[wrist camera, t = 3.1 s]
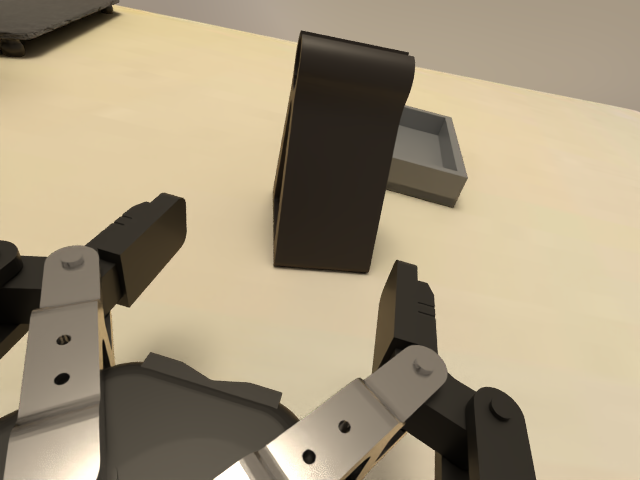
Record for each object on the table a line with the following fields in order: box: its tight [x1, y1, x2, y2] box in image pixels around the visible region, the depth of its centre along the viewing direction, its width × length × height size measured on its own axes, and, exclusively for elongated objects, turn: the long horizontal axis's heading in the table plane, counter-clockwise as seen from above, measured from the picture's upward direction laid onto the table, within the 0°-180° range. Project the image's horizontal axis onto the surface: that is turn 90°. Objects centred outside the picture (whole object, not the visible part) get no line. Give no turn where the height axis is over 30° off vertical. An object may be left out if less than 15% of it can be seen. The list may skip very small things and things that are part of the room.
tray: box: [386, 105, 468, 208], centre depth 39 cm, size 14×17×3 cm
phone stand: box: [273, 31, 415, 272], centre depth 23 cm, size 9×6×12 cm, turn 6°
